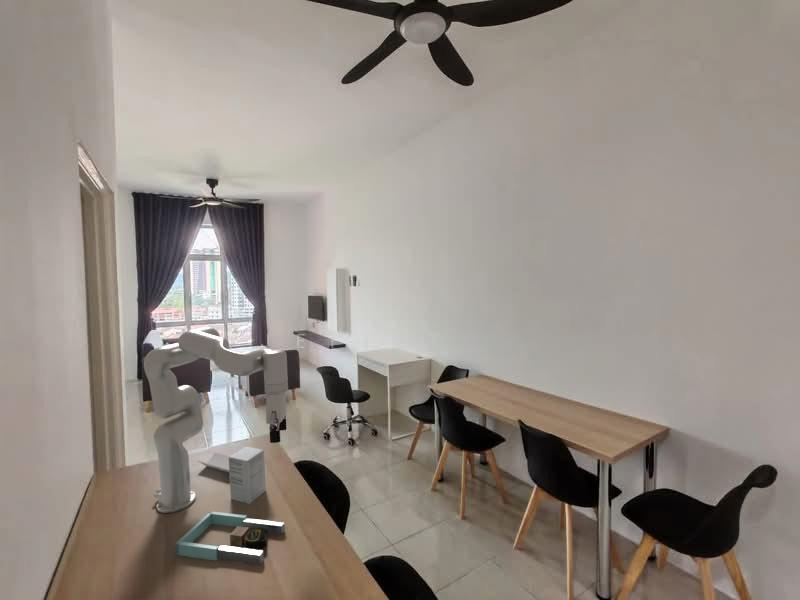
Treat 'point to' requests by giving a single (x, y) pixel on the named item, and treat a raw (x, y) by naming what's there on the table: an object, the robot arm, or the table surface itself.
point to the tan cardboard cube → (238, 536)
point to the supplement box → (247, 474)
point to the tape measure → (255, 539)
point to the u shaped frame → (201, 550)
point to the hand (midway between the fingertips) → (278, 435)
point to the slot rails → (250, 554)
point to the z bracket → (218, 462)
